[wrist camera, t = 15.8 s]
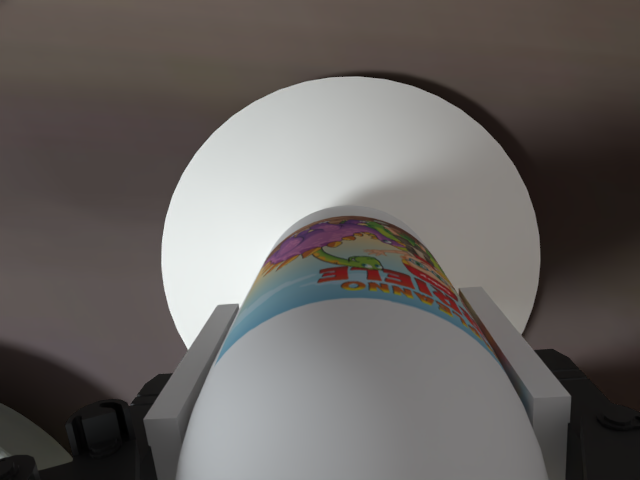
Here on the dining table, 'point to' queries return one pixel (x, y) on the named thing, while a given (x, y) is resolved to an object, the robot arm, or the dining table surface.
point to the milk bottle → (356, 369)
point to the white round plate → (348, 192)
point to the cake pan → (29, 440)
